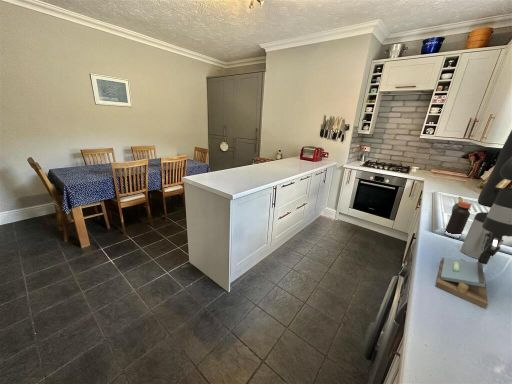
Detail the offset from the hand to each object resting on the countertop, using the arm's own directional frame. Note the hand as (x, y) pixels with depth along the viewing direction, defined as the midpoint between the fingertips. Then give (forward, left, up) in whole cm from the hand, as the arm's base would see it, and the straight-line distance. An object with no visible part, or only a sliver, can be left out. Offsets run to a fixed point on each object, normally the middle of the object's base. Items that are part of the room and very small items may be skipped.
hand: (481, 262), depth 75 cm
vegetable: (-38, -50, -11) cm, 64 cm away
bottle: (-30, -40, -11) cm, 51 cm away
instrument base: (+2, -2, -11) cm, 11 cm away
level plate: (+2, -3, -7) cm, 7 cm away
